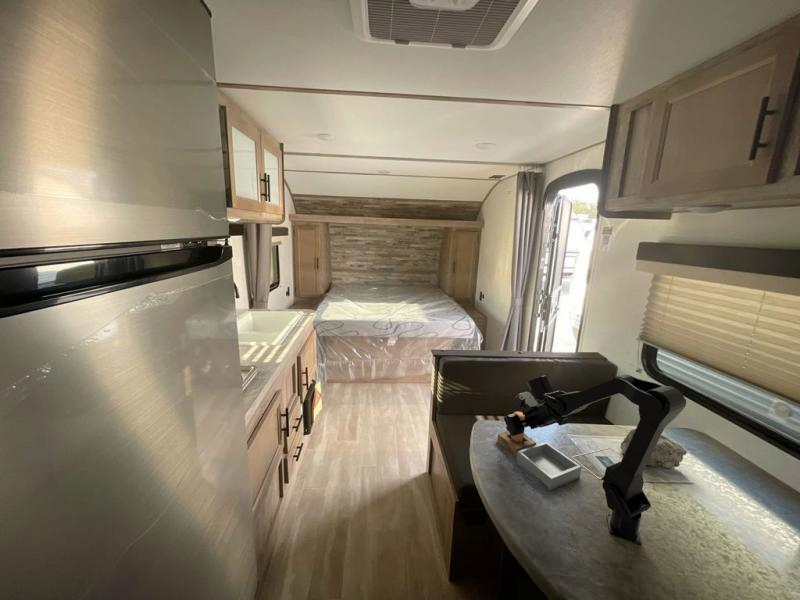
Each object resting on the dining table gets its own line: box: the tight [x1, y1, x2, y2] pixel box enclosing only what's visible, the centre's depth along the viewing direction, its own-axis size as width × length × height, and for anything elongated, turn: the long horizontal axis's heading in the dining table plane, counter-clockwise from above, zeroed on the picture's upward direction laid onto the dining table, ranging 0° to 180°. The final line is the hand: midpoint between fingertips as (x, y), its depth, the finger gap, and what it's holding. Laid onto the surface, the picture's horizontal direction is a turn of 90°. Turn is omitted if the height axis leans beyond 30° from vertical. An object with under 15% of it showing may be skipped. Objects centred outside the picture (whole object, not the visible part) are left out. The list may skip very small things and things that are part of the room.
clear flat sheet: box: [570, 447, 624, 480], centre depth 105 cm, size 11×1×18 cm
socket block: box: [497, 430, 537, 458], centre depth 112 cm, size 9×9×3 cm
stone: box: [619, 428, 688, 469], centre depth 105 cm, size 10×12×15 cm
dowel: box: [511, 411, 525, 444], centre depth 111 cm, size 4×4×12 cm
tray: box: [515, 441, 582, 491], centre depth 100 cm, size 13×13×4 cm
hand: (515, 426), depth 112 cm, fingers open, 7 cm apart
